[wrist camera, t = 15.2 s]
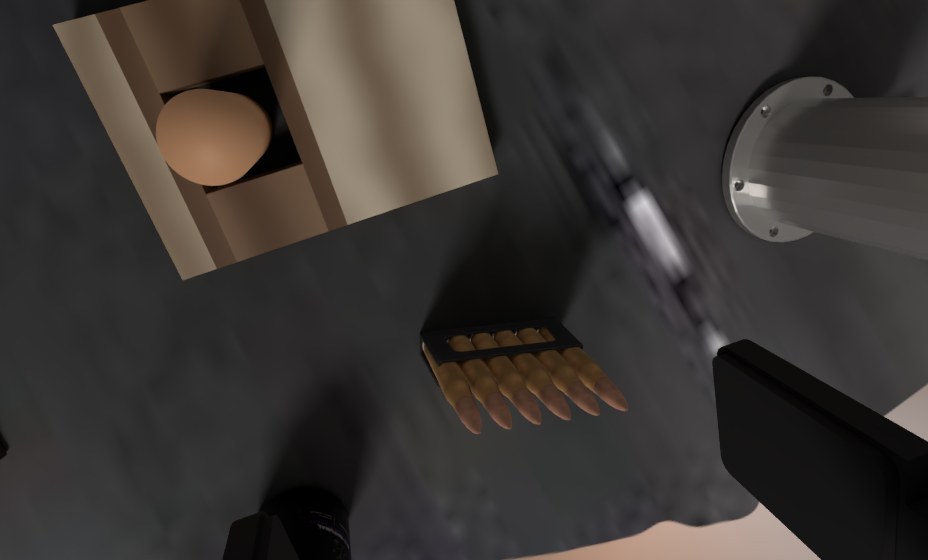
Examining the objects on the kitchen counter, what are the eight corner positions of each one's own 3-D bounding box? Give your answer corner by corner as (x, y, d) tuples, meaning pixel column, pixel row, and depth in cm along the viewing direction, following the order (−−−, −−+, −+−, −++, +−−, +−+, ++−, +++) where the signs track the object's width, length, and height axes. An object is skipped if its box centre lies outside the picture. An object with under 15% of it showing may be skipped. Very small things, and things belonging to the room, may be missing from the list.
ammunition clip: (420, 355, 40) (461, 450, 29) (419, 331, 39) (461, 420, 28) (554, 339, 43) (639, 421, 31) (556, 317, 42) (643, 393, 31)
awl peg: (256, 84, 32) (235, 77, 23) (283, 151, 33) (273, 169, 24) (188, 104, 31) (137, 104, 22) (218, 171, 33) (182, 197, 24)
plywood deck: (426, -61, 32) (435, -74, 30) (486, 169, 37) (498, 174, 35) (73, 31, 29) (52, 24, 27) (191, 268, 34) (182, 280, 32)
